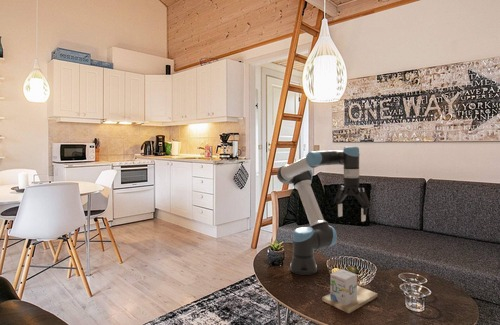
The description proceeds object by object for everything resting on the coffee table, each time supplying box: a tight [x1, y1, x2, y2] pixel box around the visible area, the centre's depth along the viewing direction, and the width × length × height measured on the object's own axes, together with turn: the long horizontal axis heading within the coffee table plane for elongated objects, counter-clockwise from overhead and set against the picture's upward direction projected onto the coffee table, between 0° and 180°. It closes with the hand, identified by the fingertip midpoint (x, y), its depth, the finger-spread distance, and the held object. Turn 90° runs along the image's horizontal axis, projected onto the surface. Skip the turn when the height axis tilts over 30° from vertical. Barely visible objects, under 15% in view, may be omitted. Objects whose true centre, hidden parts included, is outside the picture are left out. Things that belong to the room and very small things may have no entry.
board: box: [321, 285, 378, 314], centre depth 141 cm, size 14×22×2 cm, turn 127°
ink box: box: [329, 268, 358, 306], centre depth 138 cm, size 8×8×12 cm
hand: (351, 218), depth 157 cm, fingers open, 13 cm apart
